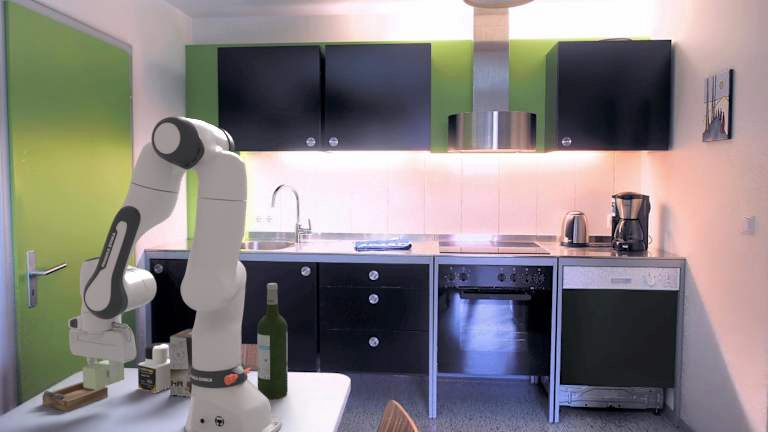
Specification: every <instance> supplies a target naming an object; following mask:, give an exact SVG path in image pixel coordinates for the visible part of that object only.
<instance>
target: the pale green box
mask: <svg viewBox="0 0 768 432" xmlns="http://www.w3.org/2000/svg"><path fill="white" fill-rule="evenodd" d="M109 368H110V365H109V361H108V360H101V361H97V363H94V364H91V365H89V364H88V365H85V366H82V382H83V387H85V388H89V389H94V390H97V389H99V388H102V387H108V386H110V385H112V384H116V383H119V382H121V381H123V380H125V363H120V364H119V366H118V369H117V376H116V377H114V378H109V377H107V370H109Z"/></svg>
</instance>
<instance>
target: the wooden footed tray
mask: <svg viewBox="0 0 768 432" xmlns="http://www.w3.org/2000/svg"><path fill="white" fill-rule="evenodd" d="M108 389H109V388H108V386H105V387H102V388H99V389H97V390H94V389H89V388H85V387H83V381H80V382H78V383H75V384H72V385H69V386H66V387H63V388H59V389H57V390H54V391H50V390H45V391H44V392H43V394H42V405H43V406H46V407H51V408H54V409H57V410H62V411H64V412H70V411H73V410H75V409H79V408H82V407H84V406H86V405H90V404H92V403H94V402H97V401H100V400H102V399H105V398H108V395H109V393H108V392H109V390H108Z"/></svg>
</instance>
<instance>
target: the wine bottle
mask: <svg viewBox="0 0 768 432" xmlns="http://www.w3.org/2000/svg"><path fill="white" fill-rule="evenodd" d="M278 289H279V288H278V283H276V282H270V283H267V285H266V290H267V291H266V312H265V315H264V316H263V317H261V319H260V320H259V321H258V324H257V326H256V327H257V331H256V332H257V334H256V335H257V336H256V337H257V389H258V390H259V391H260V392H261V393H262V394H263V395H264V396H266V397H267V398H268V400H279V399H281V398H285V396H287V394H288V389H289V388H288V386H289V385H288V378H289V377H288V374H289V373H288V323H287V321H286V319H285V318H284V317H283V316H282V315H281V314H280V312H279V303H278V301H279V299H278Z"/></svg>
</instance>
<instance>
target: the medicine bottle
mask: <svg viewBox="0 0 768 432" xmlns="http://www.w3.org/2000/svg"><path fill="white" fill-rule="evenodd" d="M144 352H145V353H144V356H145V357H144V359H145V361H143V362H140V363H138V364H137V376H138V377H137V380H138V381H137V382H138V383H137V384H138V385H137V386H138V389H139V388H140V389H139V390H142V389H145V390H148V391H147V392H149V391H152V392H151V393H153V392H157V393H159V392H158V391H160V392H162V391H164V390H163V389H165V388H168V387H170V345H168V344H167V343H165V342H155V343H151V344H149V345H147V346H145V348H144ZM168 389H169V388H168ZM145 390H144V391H145ZM161 390H162V391H161ZM165 390H166V389H165Z"/></svg>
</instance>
